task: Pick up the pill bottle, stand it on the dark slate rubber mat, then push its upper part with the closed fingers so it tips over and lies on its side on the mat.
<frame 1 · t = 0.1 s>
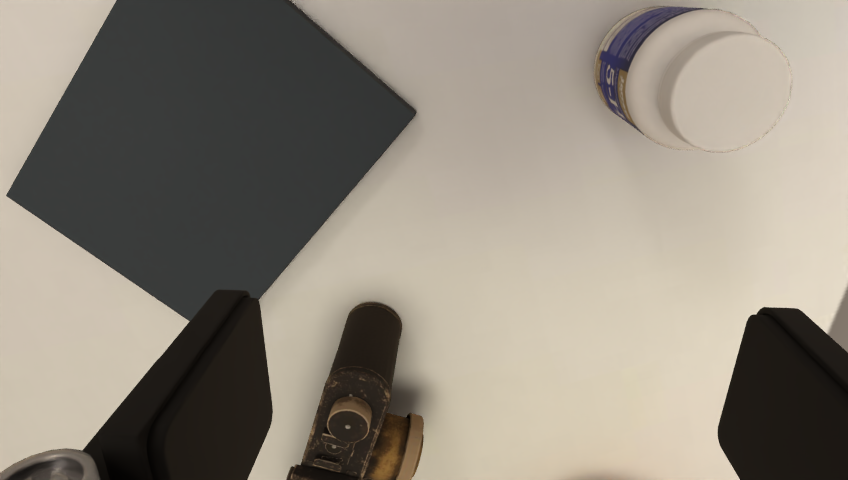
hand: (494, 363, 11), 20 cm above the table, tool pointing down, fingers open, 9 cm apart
pill bottle: (646, 65, 27), on the table
mat: (208, 152, 30), on the table
camera: (365, 411, 36), on the table
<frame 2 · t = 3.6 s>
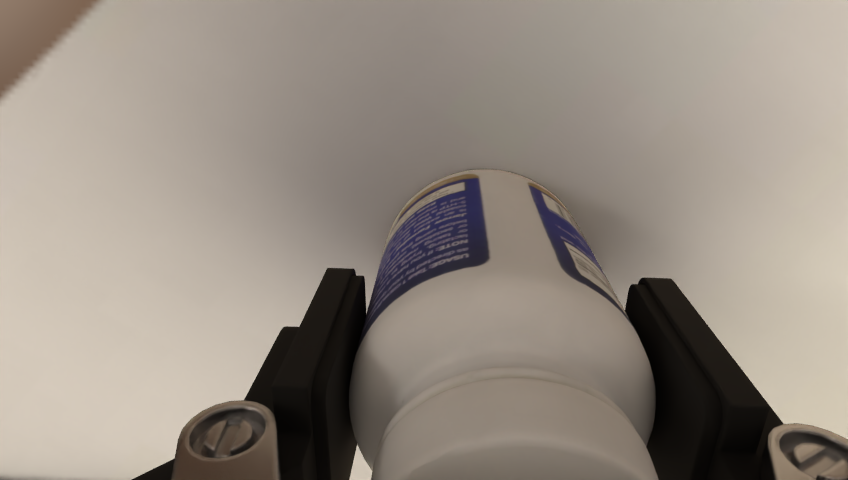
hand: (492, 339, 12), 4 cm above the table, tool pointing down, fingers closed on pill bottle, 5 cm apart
pill bottle: (482, 256, 15), on the table, touching gripper
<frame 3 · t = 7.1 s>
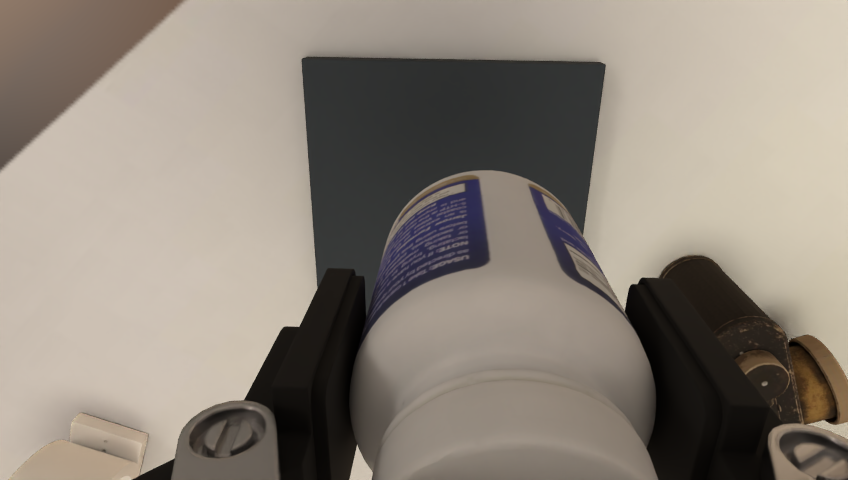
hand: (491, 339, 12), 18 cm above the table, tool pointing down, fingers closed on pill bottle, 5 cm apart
pill bottle: (483, 257, 15), point 14 cm above the table, touching gripper
mat: (446, 234, 30), on the table
camera: (733, 368, 33), on the table
headphone stand: (112, 442, 38), on the table
when the fingers open (5 cm above the table, at t = 10.5 s): pill bottle stays where it is, resting on mat.
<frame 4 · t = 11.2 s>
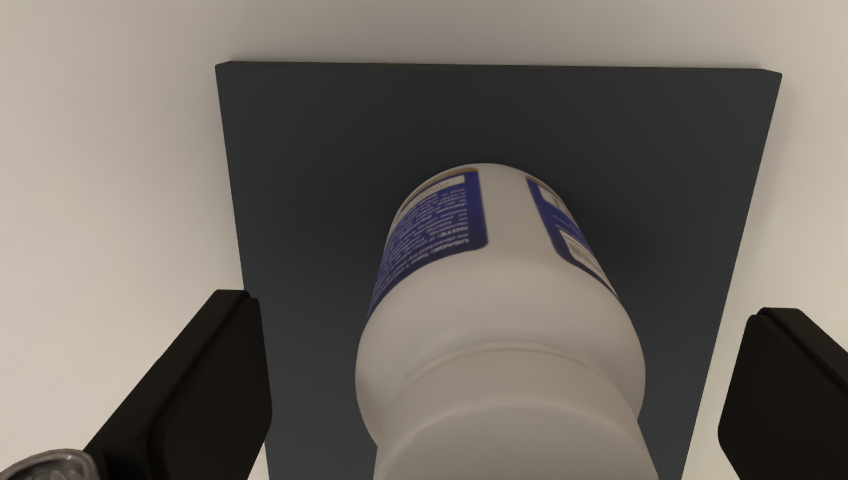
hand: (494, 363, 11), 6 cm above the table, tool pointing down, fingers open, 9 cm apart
pill bottle: (481, 248, 16), point 1 cm above the table, touching mat
mat: (474, 352, 18), on the table
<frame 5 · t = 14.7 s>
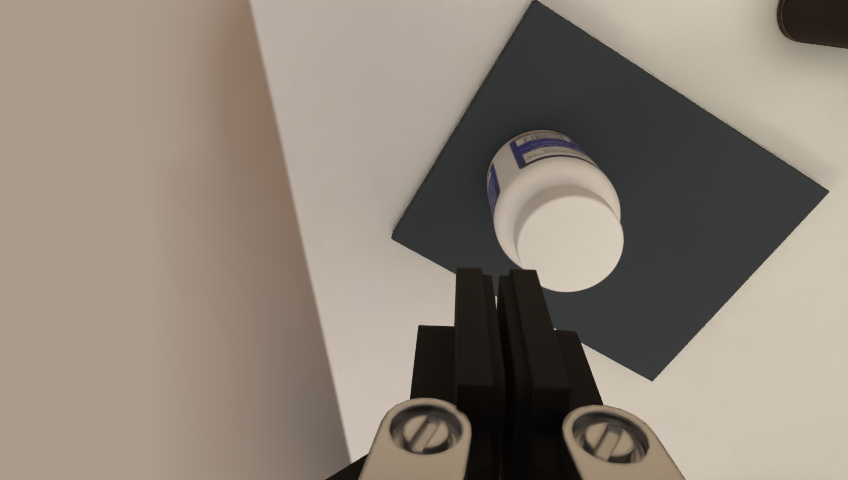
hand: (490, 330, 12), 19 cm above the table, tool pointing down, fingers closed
pill bottle: (537, 177, 29), point 1 cm above the table, touching mat
mat: (597, 209, 31), on the table
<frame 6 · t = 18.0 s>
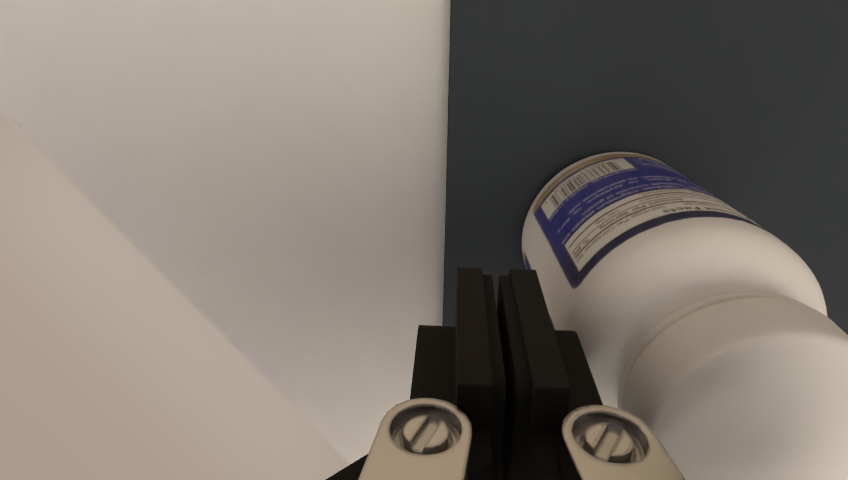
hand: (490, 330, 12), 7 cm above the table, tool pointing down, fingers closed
pill bottle: (604, 229, 17), point 1 cm above the table, touching gripper, mat
mat: (726, 221, 18), on the table
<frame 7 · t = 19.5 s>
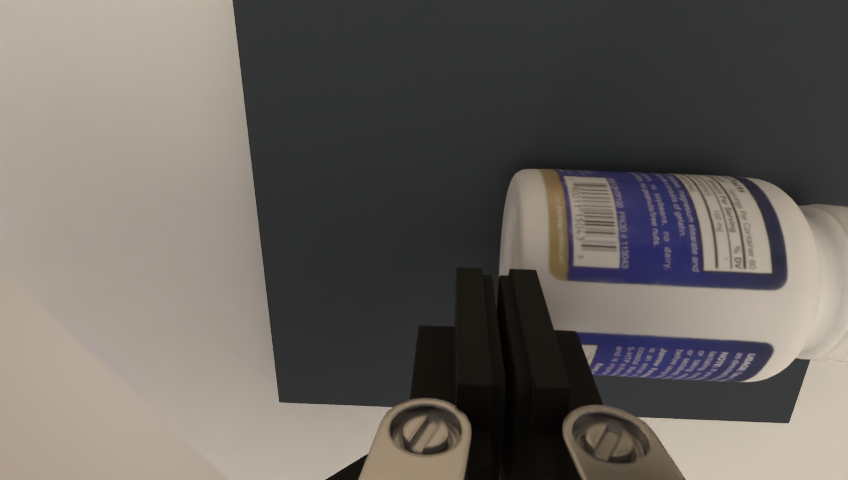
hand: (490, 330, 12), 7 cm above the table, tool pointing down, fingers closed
pill bottle: (499, 266, 15), point 4 cm above the table, touching mat
mat: (543, 219, 18), on the table
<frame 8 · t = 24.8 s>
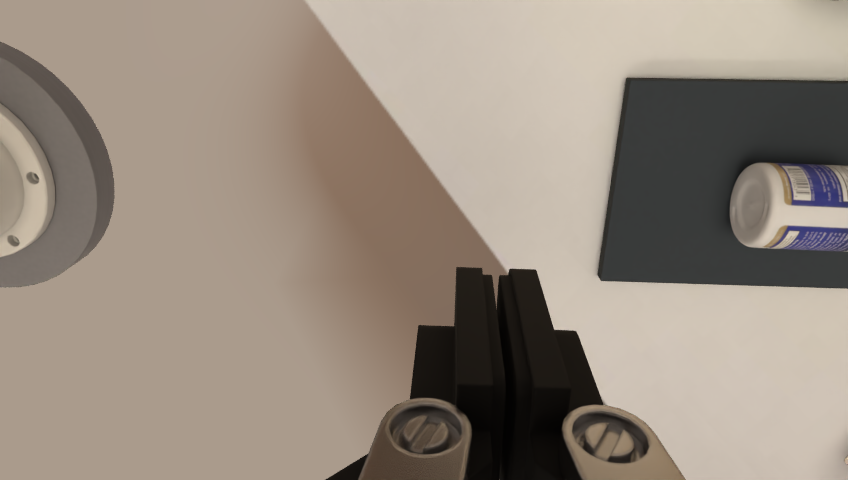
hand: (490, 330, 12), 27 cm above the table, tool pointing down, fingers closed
pill bottle: (745, 204, 35), point 4 cm above the table, touching mat
mat: (745, 186, 38), on the table
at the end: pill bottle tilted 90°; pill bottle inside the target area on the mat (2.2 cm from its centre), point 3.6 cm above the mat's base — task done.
